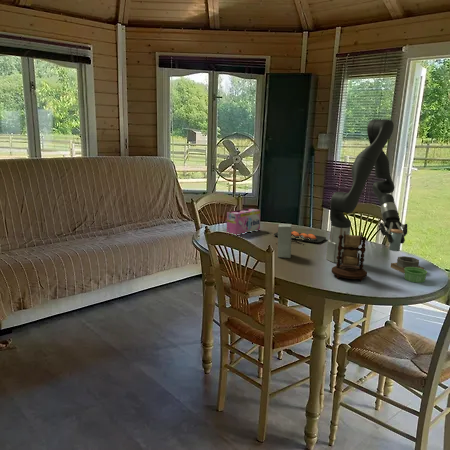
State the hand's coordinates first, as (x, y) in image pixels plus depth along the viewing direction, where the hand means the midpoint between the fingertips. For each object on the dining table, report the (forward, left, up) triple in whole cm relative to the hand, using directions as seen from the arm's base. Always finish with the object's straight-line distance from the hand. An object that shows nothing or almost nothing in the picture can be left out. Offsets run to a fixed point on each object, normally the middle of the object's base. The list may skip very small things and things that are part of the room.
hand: (397, 242), depth 196 cm
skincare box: (-47, +25, -10) cm, 54 cm away
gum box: (-48, +76, -10) cm, 90 cm away
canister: (+1, +2, -4) cm, 5 cm away
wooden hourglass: (-34, -10, -10) cm, 37 cm away
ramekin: (-9, -22, -10) cm, 26 cm away
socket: (-2, -10, -10) cm, 15 cm away
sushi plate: (-27, +50, -11) cm, 58 cm away
